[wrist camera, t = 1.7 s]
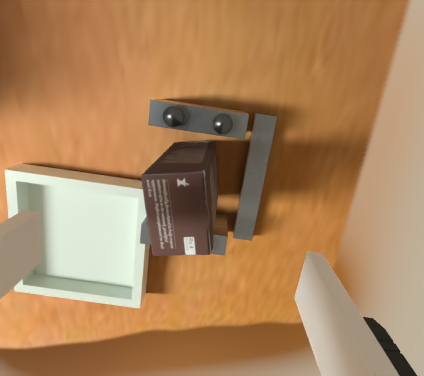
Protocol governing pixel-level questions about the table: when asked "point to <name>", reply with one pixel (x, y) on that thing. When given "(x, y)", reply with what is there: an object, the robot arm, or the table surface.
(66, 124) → the table surface
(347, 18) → the table surface
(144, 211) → the tray
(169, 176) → the box
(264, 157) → the hitch bracket
